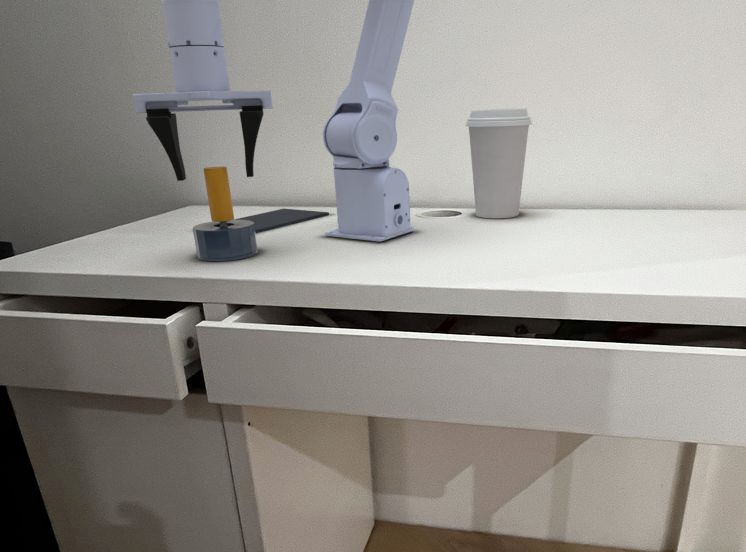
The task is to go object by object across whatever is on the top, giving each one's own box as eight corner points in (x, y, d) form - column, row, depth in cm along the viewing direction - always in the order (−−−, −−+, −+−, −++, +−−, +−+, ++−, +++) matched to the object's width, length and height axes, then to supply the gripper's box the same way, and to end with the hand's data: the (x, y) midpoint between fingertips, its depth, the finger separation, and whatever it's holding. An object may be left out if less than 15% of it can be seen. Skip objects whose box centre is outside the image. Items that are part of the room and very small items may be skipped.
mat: (329, 214, 100) (328, 212, 100) (244, 235, 86) (243, 233, 86) (283, 210, 105) (283, 208, 105) (196, 230, 91) (196, 227, 91)
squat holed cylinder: (269, 251, 76) (266, 221, 75) (225, 264, 71) (220, 232, 70) (230, 246, 80) (226, 218, 79) (185, 257, 75) (180, 227, 73)
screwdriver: (243, 250, 76) (231, 166, 72) (226, 254, 74) (213, 169, 70) (228, 248, 77) (216, 166, 73) (211, 252, 75) (198, 168, 71)
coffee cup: (509, 222, 89) (511, 109, 83) (453, 217, 94) (452, 111, 88) (540, 212, 96) (544, 107, 90) (486, 207, 101) (487, 109, 95)
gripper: (116, 46, 62) (143, 185, 67) (265, 43, 65) (280, 178, 70) (131, 51, 68) (155, 178, 73) (266, 49, 71) (279, 172, 76)
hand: (216, 178), depth 72 cm, fingers open, 7 cm apart
